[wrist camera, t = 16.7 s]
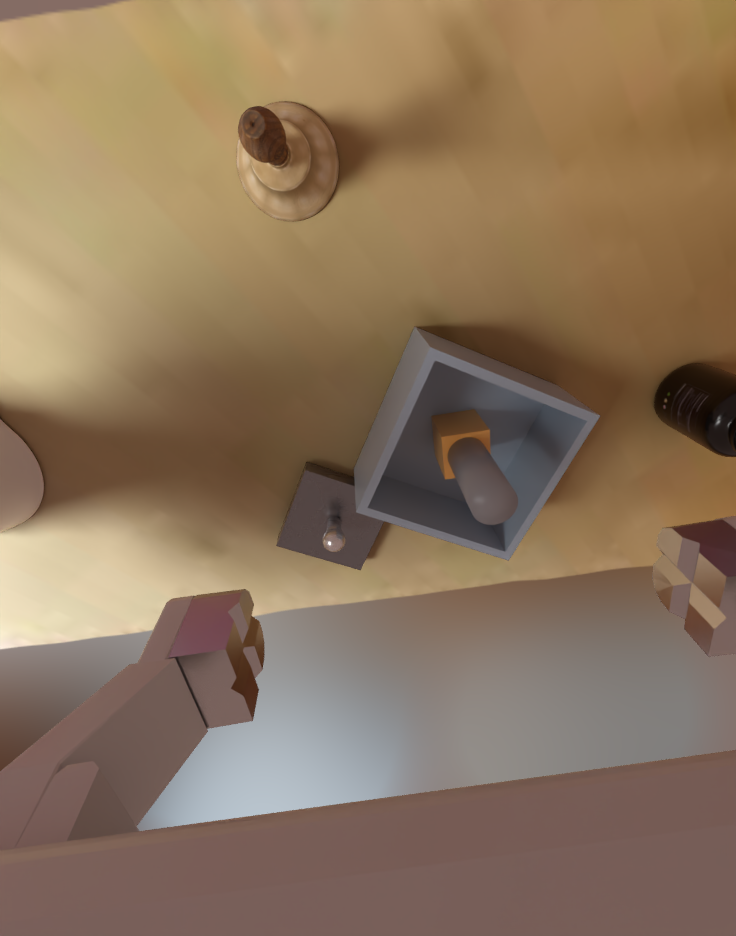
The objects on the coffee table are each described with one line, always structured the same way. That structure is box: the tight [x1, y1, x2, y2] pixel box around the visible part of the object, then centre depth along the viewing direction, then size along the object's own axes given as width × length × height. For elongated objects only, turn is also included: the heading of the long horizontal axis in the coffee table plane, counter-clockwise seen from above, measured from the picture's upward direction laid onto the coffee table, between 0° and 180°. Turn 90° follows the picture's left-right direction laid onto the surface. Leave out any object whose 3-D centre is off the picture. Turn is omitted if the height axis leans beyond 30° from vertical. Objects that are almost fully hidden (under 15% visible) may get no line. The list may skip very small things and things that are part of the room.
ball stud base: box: [277, 462, 384, 570], centre depth 51 cm, size 10×10×6 cm
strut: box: [431, 409, 518, 525], centre depth 43 cm, size 4×4×15 cm
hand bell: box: [236, 102, 339, 221], centre depth 32 cm, size 8×8×16 cm
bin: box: [354, 327, 600, 560], centre depth 46 cm, size 16×16×9 cm
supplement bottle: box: [654, 363, 736, 457], centre depth 45 cm, size 7×7×12 cm
